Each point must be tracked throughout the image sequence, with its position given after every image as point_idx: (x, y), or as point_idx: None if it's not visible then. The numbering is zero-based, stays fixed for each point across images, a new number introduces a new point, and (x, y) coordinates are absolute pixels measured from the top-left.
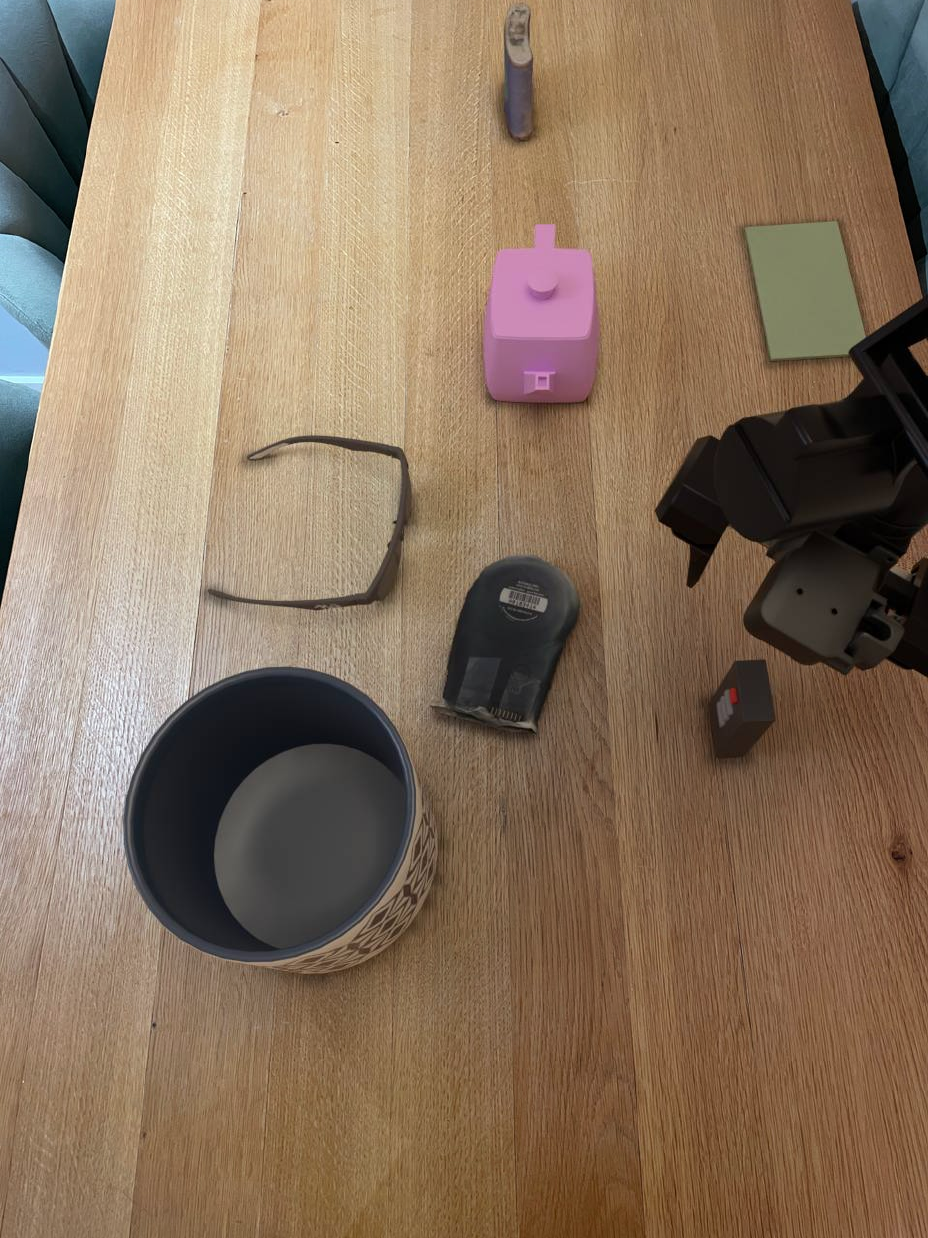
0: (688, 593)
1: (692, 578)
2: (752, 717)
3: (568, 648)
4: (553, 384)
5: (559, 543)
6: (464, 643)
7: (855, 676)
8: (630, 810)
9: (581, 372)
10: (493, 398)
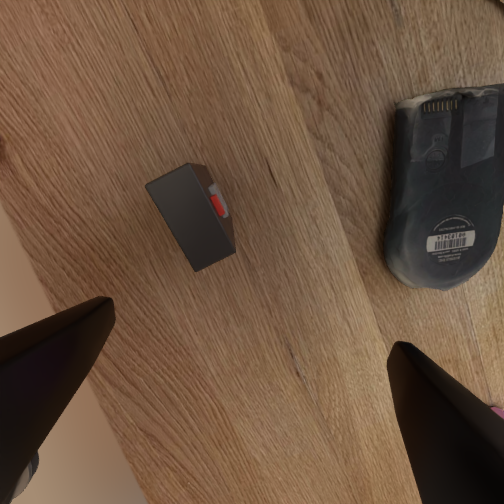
0: (285, 313)
1: (434, 371)
2: (179, 175)
3: (376, 217)
4: None
5: (410, 310)
6: (500, 169)
7: None
8: (267, 70)
9: None
10: (496, 407)
